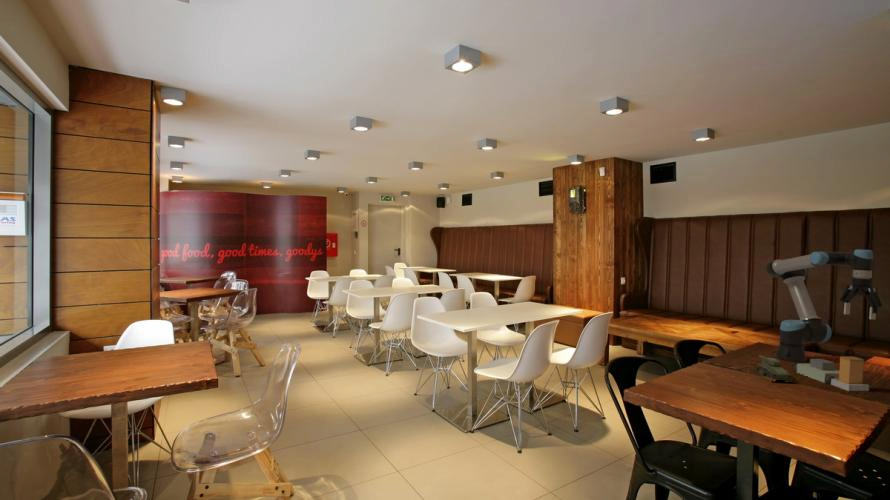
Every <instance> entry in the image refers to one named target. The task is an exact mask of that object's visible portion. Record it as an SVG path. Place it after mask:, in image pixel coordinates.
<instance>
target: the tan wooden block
mask: <svg viewBox="0 0 890 500" xmlns="http://www.w3.org/2000/svg"><path fill="white" fill-rule="evenodd" d="M864 362H865V360H864V359H863V358H860V357H856V356H840V359H839V369H838V370H839V381H841V382H844V383H847V384H863V375H864Z"/></svg>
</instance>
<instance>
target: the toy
mask: <svg viewBox="0 0 890 500" xmlns="http://www.w3.org/2000/svg"><path fill="white" fill-rule="evenodd" d="M758 357H759V358H760V359H761V363H758V365H759V366H757V367H756V374H757V376H758V375H760V376H765V377H768V378H771V379H777V380H783V381H782V382H784V381H788V382H792V383H794V379H793V376H792V374H791V373H790V372H789V371H788V370H787V369H785V368H784V367H783V366H781V361H780V360H779V359H776V358H774V357H773V358H772V357H765V356H763V355H760V354H759V355H758ZM760 376H759V377H760Z"/></svg>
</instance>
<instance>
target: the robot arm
mask: <svg viewBox="0 0 890 500" xmlns="http://www.w3.org/2000/svg"><path fill="white" fill-rule="evenodd" d="M873 261H874V252H873V250H871V249H855V250H854V251H853V252H845V251H821V250H820V251H813V252H812V253H811V254H806V255H802V256H796V257H792V258H786V259H779V258H778V259H772V260H769V261H768V262H767V263H765V266H764V268H765V272H766V274H767V275H768V276H770V277H771V278H775V279H776V278H777V279H781V280H782V283H783V284H786V286H787V288H788V290H789V293H790V297H791V299H792V301H793V304H794V307H795V309H796V311H797V315H798V318H799V319H785V320H782V321H781V323H780V327H779V341H778V343H779V345H778V347H777V349H776V351H775V353H774V357H775V358H777V359H778V360H779V359H780V360H783V361H786V362H787V361H788V362H795V363H806V362H807V358H808V357H807V355H806V352H805V348H804V347H805V346H804V345H805V343H818V344H819V343H826V342H828V341H829V340H830V339H831V337H832V328H831V327H830V325H828V324H827V323H825V322H823V319H822V318H821V317H819V316H818V315H817V312H816V310H815V308H814V305H813V302H812V299H811V297H810V294H809V292H808V290H807V287H806V284H805V279H806V276H807V274H808V269H809V268H816V267H822V266H842V267H843V266H845V267H847V266H848V267H852V279H851V284H852V285H850V284H848V285H846V287H845V290H844V292H843V293H842V294H841V296H840V299H839V301H841V302H843V306H842V307H843V315H851V314H850V313H851V301H852V300H853V299H854V298H856V297H857V296H858V295H859V296H863V297H864V298H865V299H866V300H867V301H868V303H869V304H870V305H871V306H870V307H869V317H868V319H869V320H876V319H877V318H876V317H877V313H878V308H881V307H883V304H882V302H881V299H880V297H879V295H878V290H877V288H876V287H875V288H874V287H871V286H872V278H873Z"/></svg>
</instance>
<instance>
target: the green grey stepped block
mask: <svg viewBox="0 0 890 500" xmlns="http://www.w3.org/2000/svg"><path fill="white" fill-rule="evenodd" d="M793 370H794V371H795V372H796V373H797V374H799V373H800V374H799V375H802V374H803V375H802V376H804V377H805V376H806V377H807V376H808V378H811V379H813V380H816V381H818V382H821V383H823V384H830V385H831V386H834V387H837V388H838V389H842V390H845V391H847V392H869V391H870V384H868V383H867V384H866V383H865V384H864V383H862V384H847V383H844V382H841V381H839V370H840V369H837V368H836V362H833V361H830V360H827V359H824V358H810V361H809V363H797V364H795V365H794V367H793Z"/></svg>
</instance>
